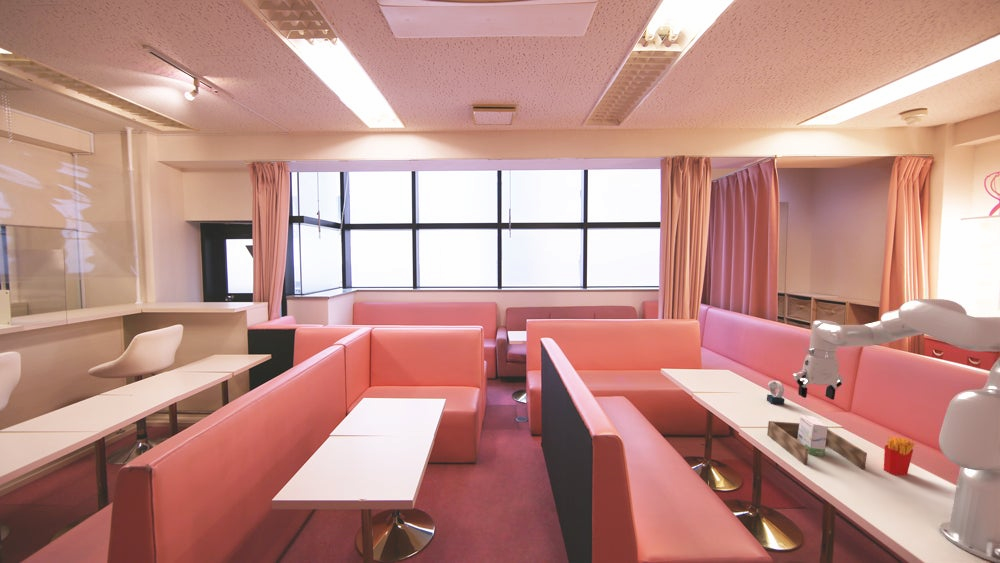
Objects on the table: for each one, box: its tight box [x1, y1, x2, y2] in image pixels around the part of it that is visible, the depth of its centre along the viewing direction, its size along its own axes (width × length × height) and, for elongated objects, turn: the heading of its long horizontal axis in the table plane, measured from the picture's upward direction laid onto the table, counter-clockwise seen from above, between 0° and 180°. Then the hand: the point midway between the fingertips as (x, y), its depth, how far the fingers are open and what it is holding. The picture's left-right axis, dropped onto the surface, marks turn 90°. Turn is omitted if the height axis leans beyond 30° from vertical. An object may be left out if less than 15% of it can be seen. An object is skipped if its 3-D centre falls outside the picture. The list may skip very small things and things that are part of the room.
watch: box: [766, 380, 786, 406], centre depth 179 cm, size 6×8×11 cm
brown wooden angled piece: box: [766, 420, 868, 470], centre depth 136 cm, size 20×20×6 cm
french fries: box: [883, 436, 915, 476], centre depth 124 cm, size 8×4×12 cm, turn 91°
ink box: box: [796, 414, 829, 457], centre depth 136 cm, size 8×5×12 cm, turn 167°
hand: (815, 397), depth 135 cm, fingers open, 9 cm apart
